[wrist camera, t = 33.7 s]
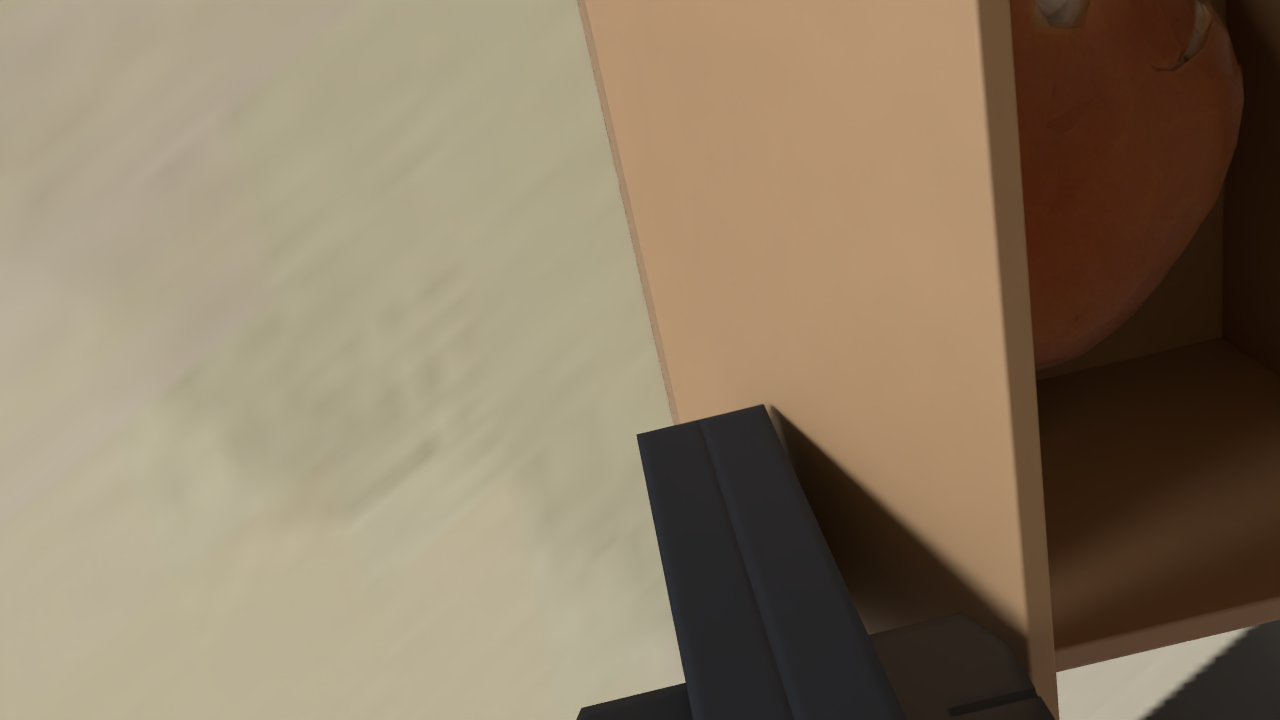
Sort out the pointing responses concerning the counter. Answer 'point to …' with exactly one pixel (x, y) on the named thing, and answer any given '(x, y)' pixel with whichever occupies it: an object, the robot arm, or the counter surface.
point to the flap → (852, 277)
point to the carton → (1163, 413)
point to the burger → (1116, 153)
